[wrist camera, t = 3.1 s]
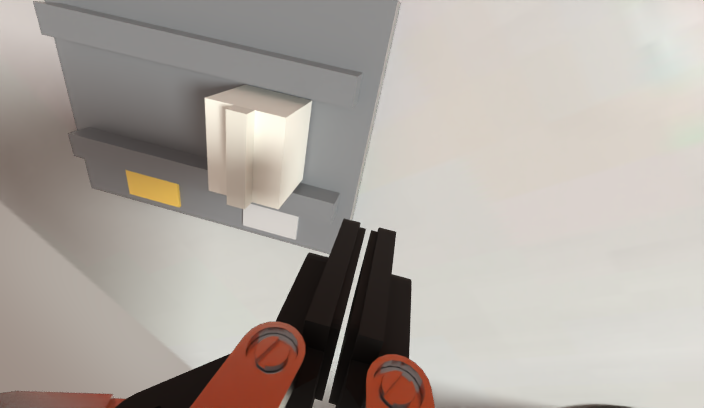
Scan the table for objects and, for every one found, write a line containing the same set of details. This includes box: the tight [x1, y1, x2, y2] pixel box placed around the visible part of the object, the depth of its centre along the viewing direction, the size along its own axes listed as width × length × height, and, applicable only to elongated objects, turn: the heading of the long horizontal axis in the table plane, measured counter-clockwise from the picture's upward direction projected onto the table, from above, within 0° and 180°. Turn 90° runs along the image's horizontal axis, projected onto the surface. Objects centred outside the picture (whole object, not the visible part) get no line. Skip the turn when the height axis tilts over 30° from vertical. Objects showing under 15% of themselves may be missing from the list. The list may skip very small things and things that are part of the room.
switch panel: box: [33, 0, 401, 254], centre depth 21 cm, size 20×16×4 cm
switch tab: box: [205, 85, 312, 209], centre depth 18 cm, size 4×5×5 cm
